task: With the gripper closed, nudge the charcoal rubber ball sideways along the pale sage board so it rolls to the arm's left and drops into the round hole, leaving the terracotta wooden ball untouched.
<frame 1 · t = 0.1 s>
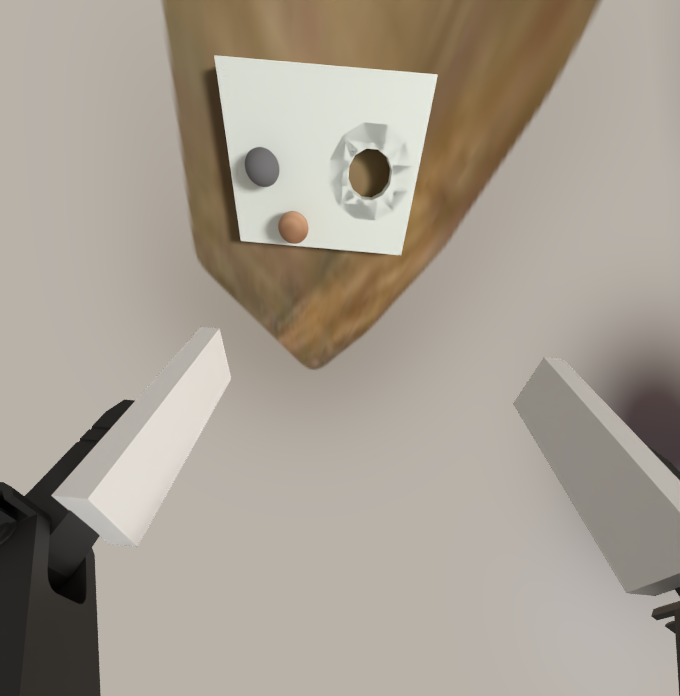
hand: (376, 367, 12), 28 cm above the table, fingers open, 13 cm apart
wood ball: (293, 227, 31), point 4 cm above the table, touching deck
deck: (325, 170, 31), on the table
ball: (262, 167, 28), point 4 cm above the table, touching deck
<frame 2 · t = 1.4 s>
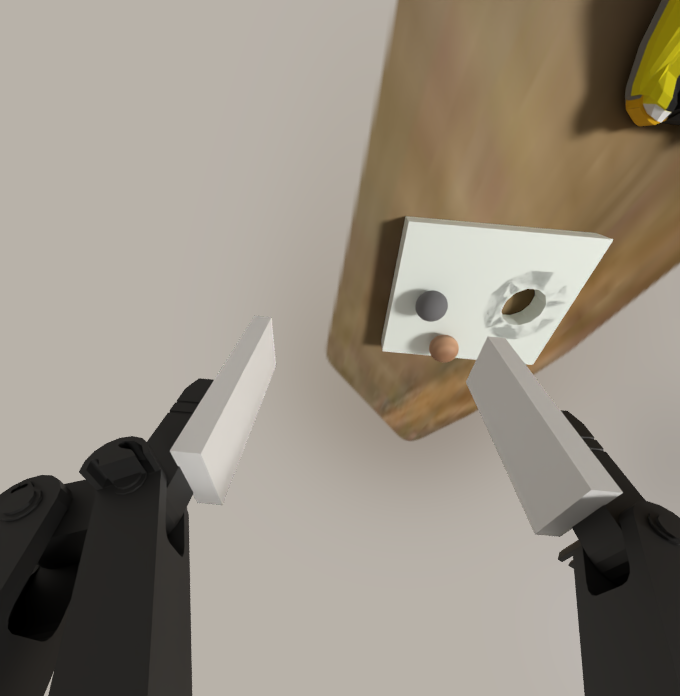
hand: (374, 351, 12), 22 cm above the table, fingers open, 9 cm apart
wood ball: (443, 348, 33), point 4 cm above the table, touching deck
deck: (472, 294, 33), on the table
ball: (431, 306, 30), point 4 cm above the table, touching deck
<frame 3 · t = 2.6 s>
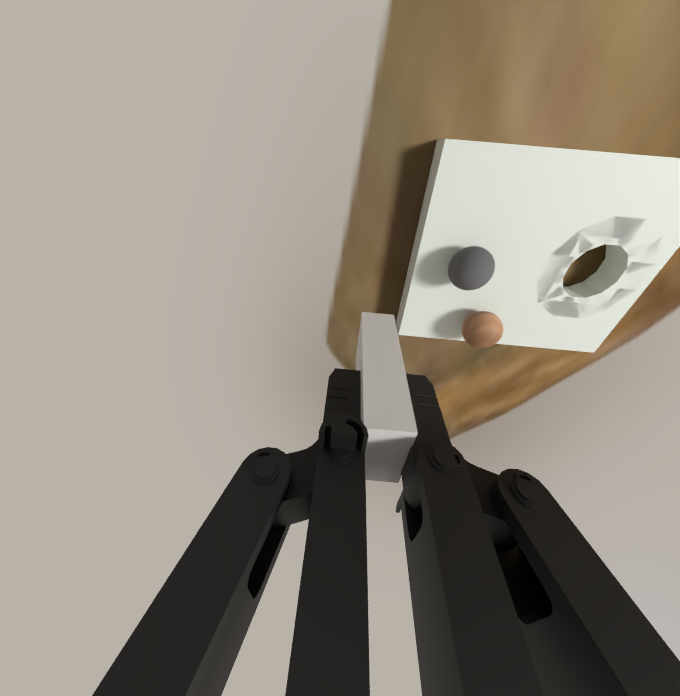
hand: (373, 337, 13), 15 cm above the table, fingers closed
wood ball: (481, 329, 25), point 4 cm above the table, touching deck
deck: (521, 257, 25), on the table
ball: (470, 268, 22), point 4 cm above the table, touching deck
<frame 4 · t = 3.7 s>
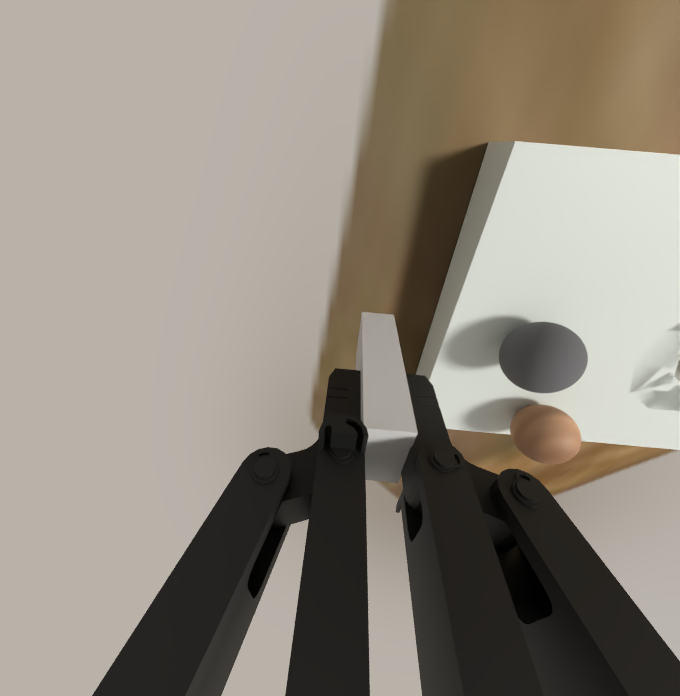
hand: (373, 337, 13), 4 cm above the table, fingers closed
wood ball: (543, 433, 16), point 4 cm above the table, touching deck
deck: (602, 322, 16), on the table
ball: (539, 357, 13), point 4 cm above the table, touching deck
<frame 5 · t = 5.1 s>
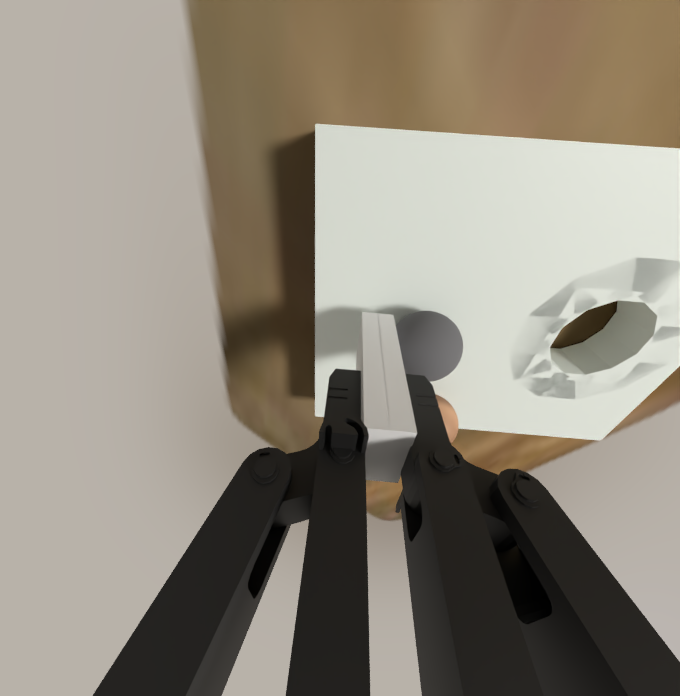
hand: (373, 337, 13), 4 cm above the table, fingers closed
wood ball: (427, 421, 16), point 4 cm above the table, touching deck
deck: (486, 310, 16), on the table
ball: (424, 346, 13), point 4 cm above the table, tilted 48°, touching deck, gripper
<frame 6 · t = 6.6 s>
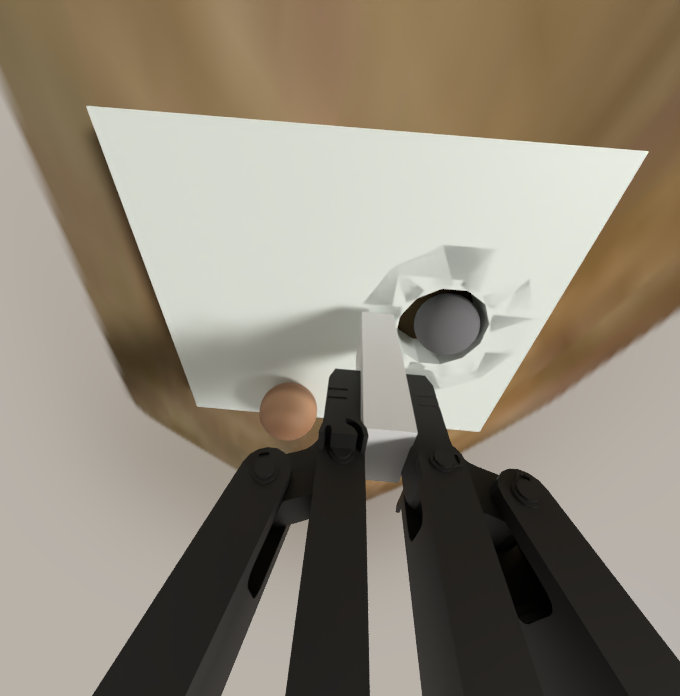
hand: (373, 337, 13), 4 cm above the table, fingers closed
wood ball: (288, 410, 16), point 4 cm above the table, touching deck
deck: (348, 300, 16), on the table
ball: (445, 324, 15), point 2 cm above the table, tilted 33°
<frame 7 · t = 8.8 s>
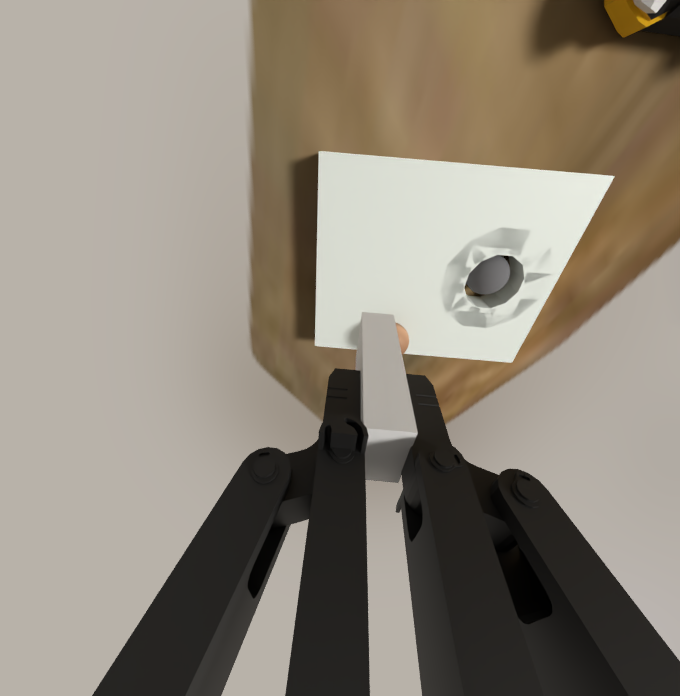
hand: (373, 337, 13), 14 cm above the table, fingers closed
wood ball: (389, 340, 25), point 4 cm above the table, touching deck
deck: (428, 268, 25), on the table
ball: (486, 274, 23), point 2 cm above the table, tilted 12°
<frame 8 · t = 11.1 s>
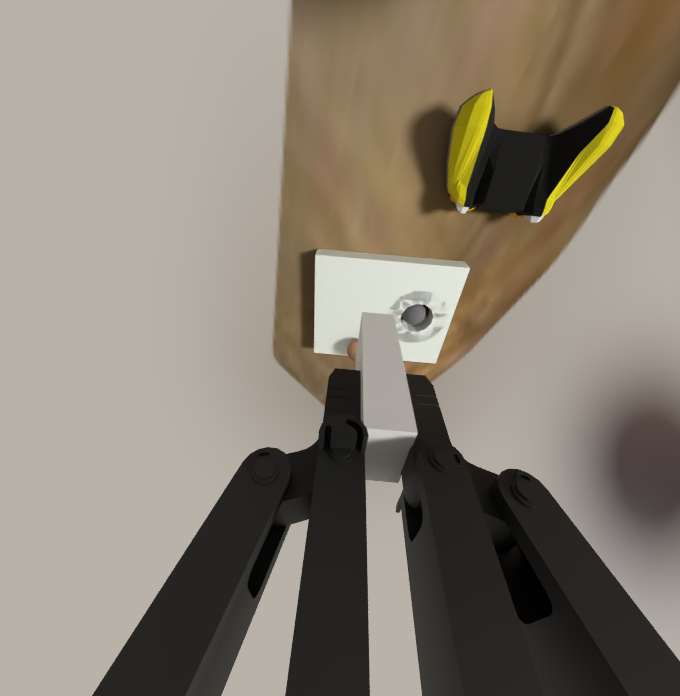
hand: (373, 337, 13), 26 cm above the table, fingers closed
wood ball: (358, 350, 42), point 4 cm above the table, touching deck
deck: (381, 307, 42), on the table
ball: (413, 313, 40), point 2 cm above the table, tilted 11°
gaming controller: (503, 162, 31), on the table
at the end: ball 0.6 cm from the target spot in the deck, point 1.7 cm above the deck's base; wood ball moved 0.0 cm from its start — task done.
